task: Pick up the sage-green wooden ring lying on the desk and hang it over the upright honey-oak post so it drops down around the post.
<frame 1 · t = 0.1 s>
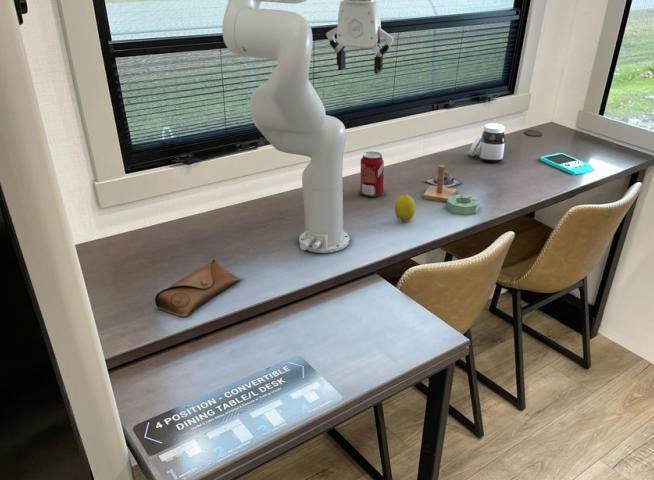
hand: (359, 70, 151), 37 cm above the table, tool pointing down, fingers open, 9 cm apart
handheld game console: (566, 165, 204), on the table
sunglasses case: (201, 294, 130), on the table
post: (439, 195, 179), on the table
soda can: (371, 194, 179), on the table
ring: (462, 208, 171), on the table
lemon: (404, 222, 163), on the table
spread jar: (484, 159, 207), on the table
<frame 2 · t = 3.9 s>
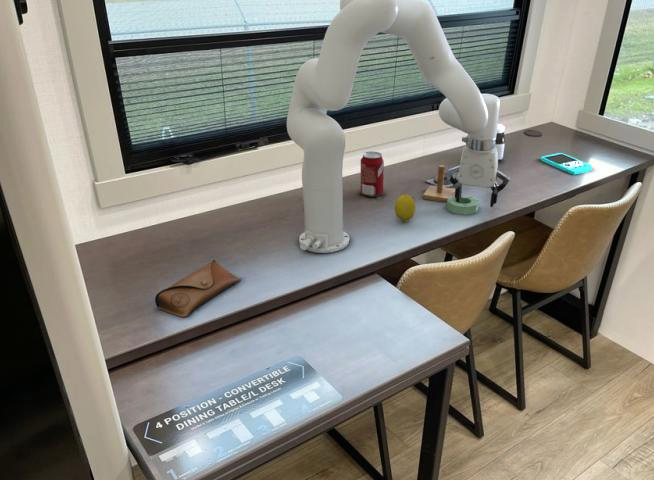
hand: (475, 202, 170), 2 cm above the table, tool pointing down, fingers open, 9 cm apart
ring: (462, 208, 171), on the table, touching gripper
everything else where it was.
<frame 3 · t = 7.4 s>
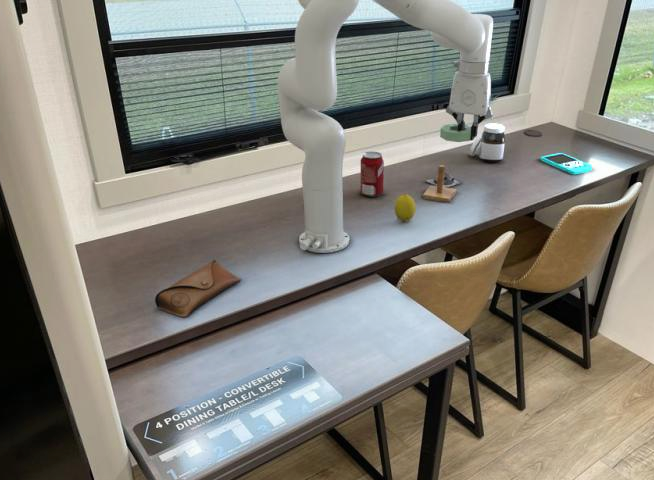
hand: (466, 137, 164), 19 cm above the table, tool pointing down, fingers closed on ring, 2 cm apart
ring: (456, 137, 165), point 19 cm above the table, touching gripper
everything else where it was.
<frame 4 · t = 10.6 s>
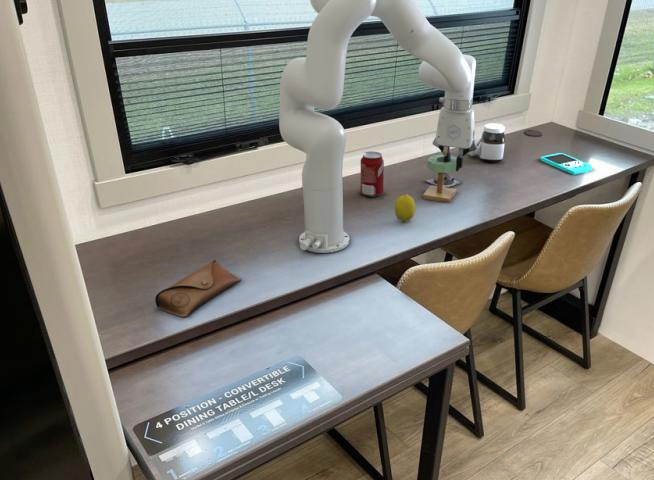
hand: (452, 168, 173), 9 cm above the table, tool pointing down, fingers closed on ring, 2 cm apart
ring: (442, 167, 174), point 9 cm above the table, touching gripper
everything else where it was.
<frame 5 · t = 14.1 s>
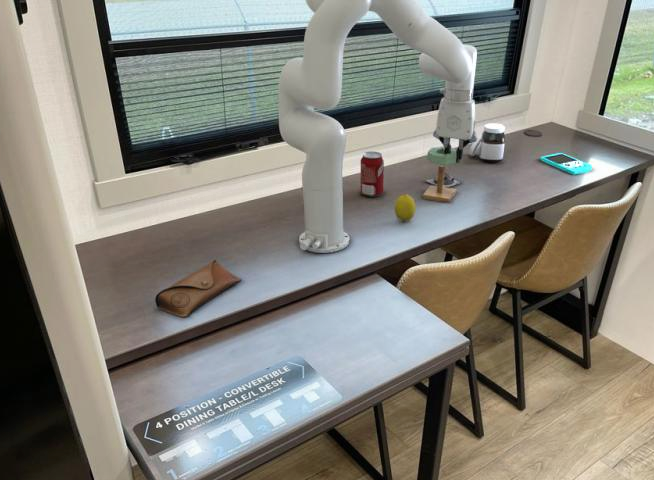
hand: (452, 160, 172), 11 cm above the table, tool pointing down, fingers closed on ring
ring: (442, 159, 173), point 11 cm above the table, touching gripper
everything else where it was.
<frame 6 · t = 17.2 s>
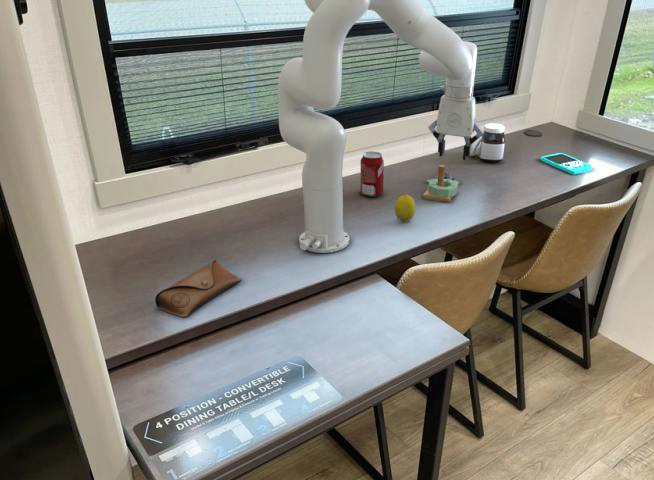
hand: (453, 156, 171), 12 cm above the table, tool pointing down, fingers open, 6 cm apart
ring: (442, 191, 179), point 1 cm above the table, touching post
everything else where it was.
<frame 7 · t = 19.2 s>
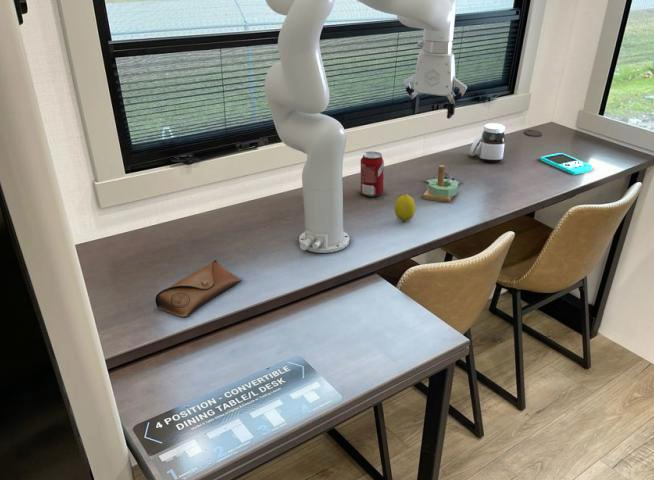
hand: (432, 115, 163), 25 cm above the table, tool pointing down, fingers open, 9 cm apart
nothing on the table moved.
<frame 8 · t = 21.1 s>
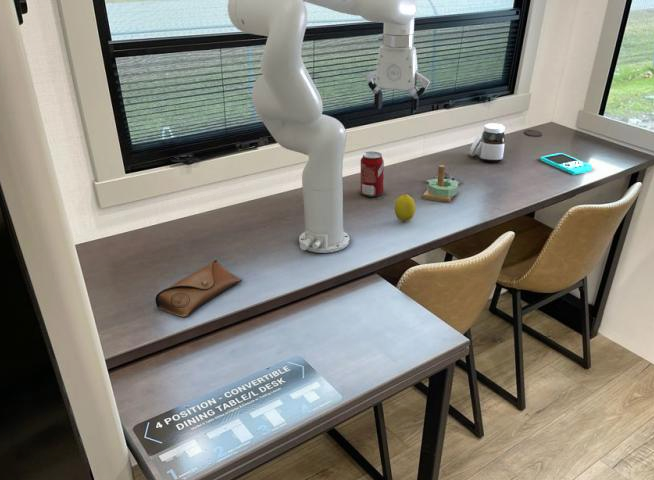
hand: (396, 110, 159), 26 cm above the table, tool pointing down, fingers open, 9 cm apart
nothing on the table moved.
at the end: ring 1.0 cm off-centre on the post, point 1.2 cm above the post's base; the gripper is holding nothing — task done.
